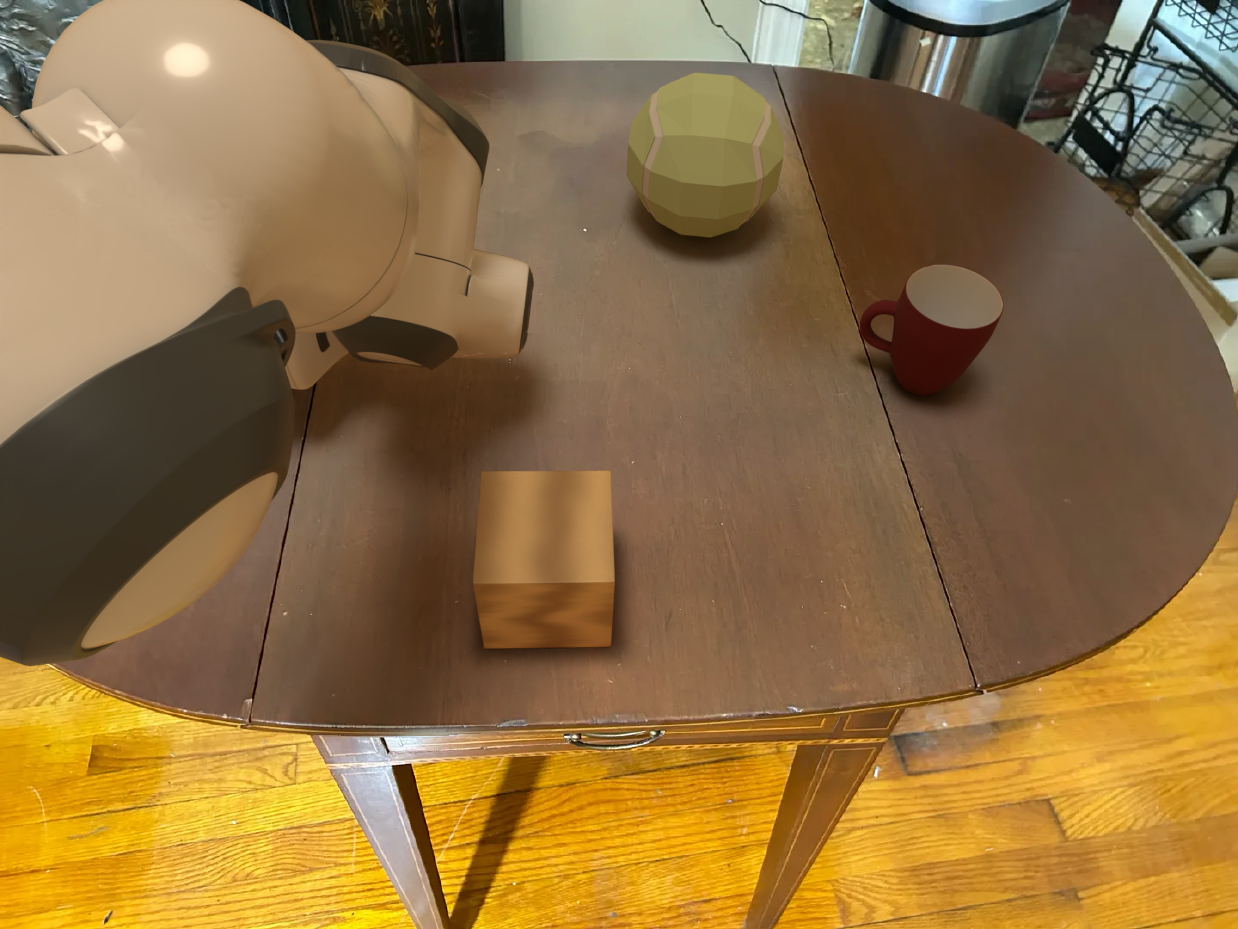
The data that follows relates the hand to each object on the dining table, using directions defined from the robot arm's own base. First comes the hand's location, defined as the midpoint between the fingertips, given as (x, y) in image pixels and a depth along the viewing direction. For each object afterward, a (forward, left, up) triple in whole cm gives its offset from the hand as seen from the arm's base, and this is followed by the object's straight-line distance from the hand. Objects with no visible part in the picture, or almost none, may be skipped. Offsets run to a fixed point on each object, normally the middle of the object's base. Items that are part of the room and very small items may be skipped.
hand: (167, 266), depth 73 cm
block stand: (+31, -25, -10) cm, 41 cm away
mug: (+63, -3, -10) cm, 64 cm away
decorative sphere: (+46, +20, -10) cm, 51 cm away
